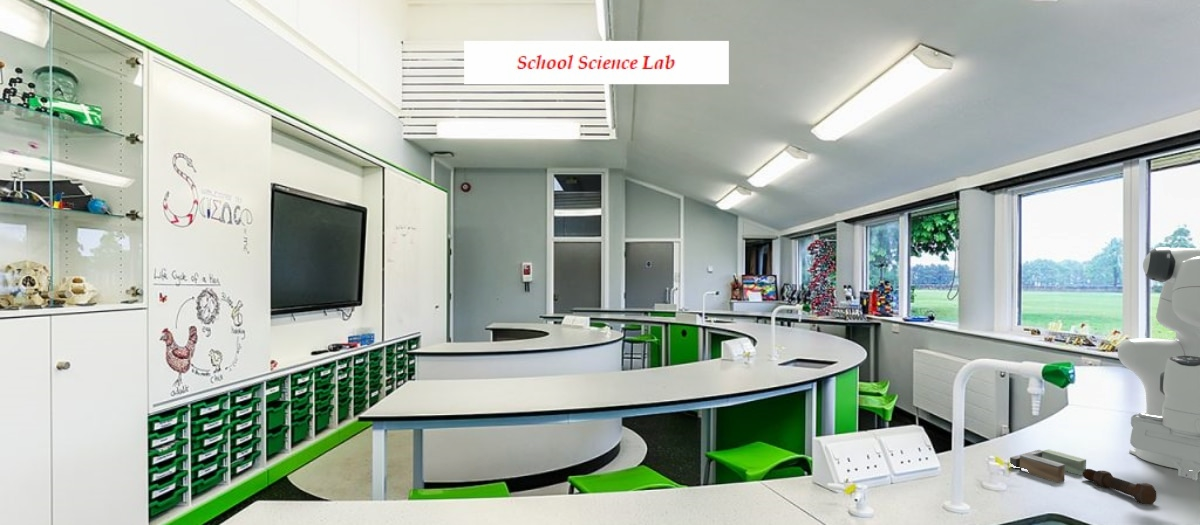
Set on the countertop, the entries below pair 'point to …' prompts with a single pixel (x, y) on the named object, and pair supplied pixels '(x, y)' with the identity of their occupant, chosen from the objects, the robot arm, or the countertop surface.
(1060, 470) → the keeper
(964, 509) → the countertop surface
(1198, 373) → the robot arm
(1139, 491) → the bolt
